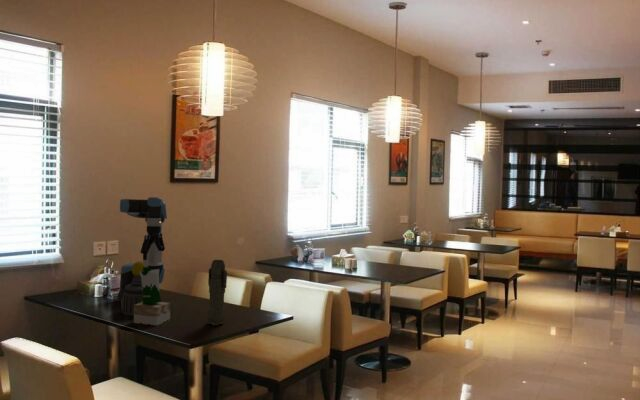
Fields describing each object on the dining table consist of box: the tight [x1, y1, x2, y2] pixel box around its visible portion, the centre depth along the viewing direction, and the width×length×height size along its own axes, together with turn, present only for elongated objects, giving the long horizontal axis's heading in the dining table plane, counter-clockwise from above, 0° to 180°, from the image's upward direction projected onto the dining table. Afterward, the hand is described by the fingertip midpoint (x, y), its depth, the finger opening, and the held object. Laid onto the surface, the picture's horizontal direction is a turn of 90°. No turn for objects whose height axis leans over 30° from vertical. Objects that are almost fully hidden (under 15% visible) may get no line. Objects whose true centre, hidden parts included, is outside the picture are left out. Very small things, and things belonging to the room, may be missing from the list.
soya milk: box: [139, 267, 162, 304], centre depth 319 cm, size 9×9×20 cm
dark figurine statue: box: [207, 259, 228, 324], centre depth 319 cm, size 9×12×35 cm
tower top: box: [133, 301, 171, 317], centre depth 319 cm, size 14×14×5 cm
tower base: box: [133, 311, 171, 326], centre depth 319 cm, size 14×14×5 cm
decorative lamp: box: [120, 260, 147, 317], centre depth 336 cm, size 19×19×30 cm
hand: (152, 264), depth 318 cm, fingers open, 13 cm apart
